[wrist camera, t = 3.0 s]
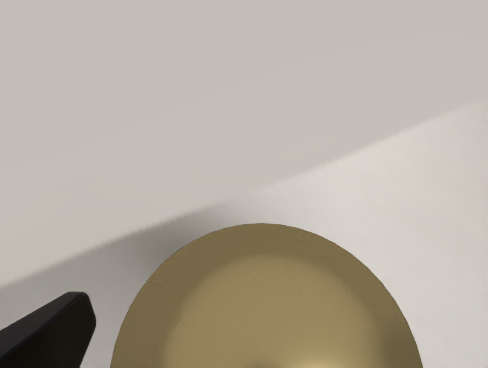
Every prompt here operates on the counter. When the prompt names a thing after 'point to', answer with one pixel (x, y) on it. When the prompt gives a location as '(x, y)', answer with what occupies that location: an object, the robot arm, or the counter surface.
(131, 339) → the brass cylinder
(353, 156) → the counter surface
